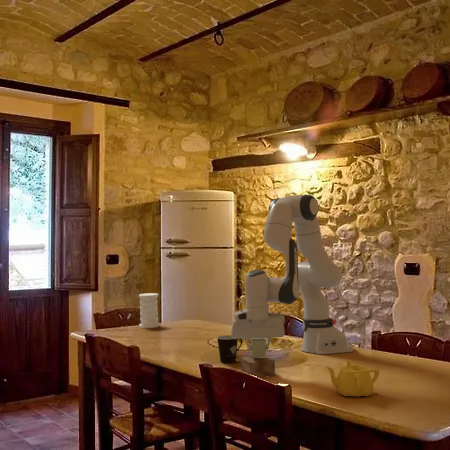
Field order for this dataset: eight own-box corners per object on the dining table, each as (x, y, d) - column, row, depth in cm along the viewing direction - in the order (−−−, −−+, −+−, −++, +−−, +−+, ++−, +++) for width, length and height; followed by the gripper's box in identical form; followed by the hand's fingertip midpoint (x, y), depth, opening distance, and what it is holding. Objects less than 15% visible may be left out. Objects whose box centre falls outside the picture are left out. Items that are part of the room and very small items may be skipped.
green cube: (264, 353, 230) (263, 337, 230) (265, 356, 225) (265, 340, 225) (251, 353, 229) (250, 338, 229) (252, 356, 224) (252, 341, 224)
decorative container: (163, 325, 338) (163, 293, 338) (150, 328, 328) (150, 296, 328) (148, 323, 344) (147, 292, 344) (134, 327, 335) (133, 295, 334)
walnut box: (265, 370, 233) (265, 354, 233) (275, 376, 223) (274, 360, 223) (241, 372, 230) (240, 357, 230) (249, 379, 220) (249, 363, 220)
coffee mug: (220, 364, 243) (220, 340, 243) (215, 360, 251) (214, 336, 251) (248, 362, 246) (247, 337, 246) (241, 357, 254) (241, 334, 254)
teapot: (348, 385, 208) (347, 357, 207) (383, 393, 198) (382, 363, 198) (325, 395, 198) (324, 365, 198) (360, 402, 188) (359, 371, 188)
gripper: (283, 311, 231) (284, 346, 231) (230, 313, 229) (231, 348, 230) (285, 313, 224) (286, 350, 224) (231, 315, 223) (232, 352, 223)
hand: (258, 349), depth 227 cm, fingers closed on green cube, 5 cm apart
